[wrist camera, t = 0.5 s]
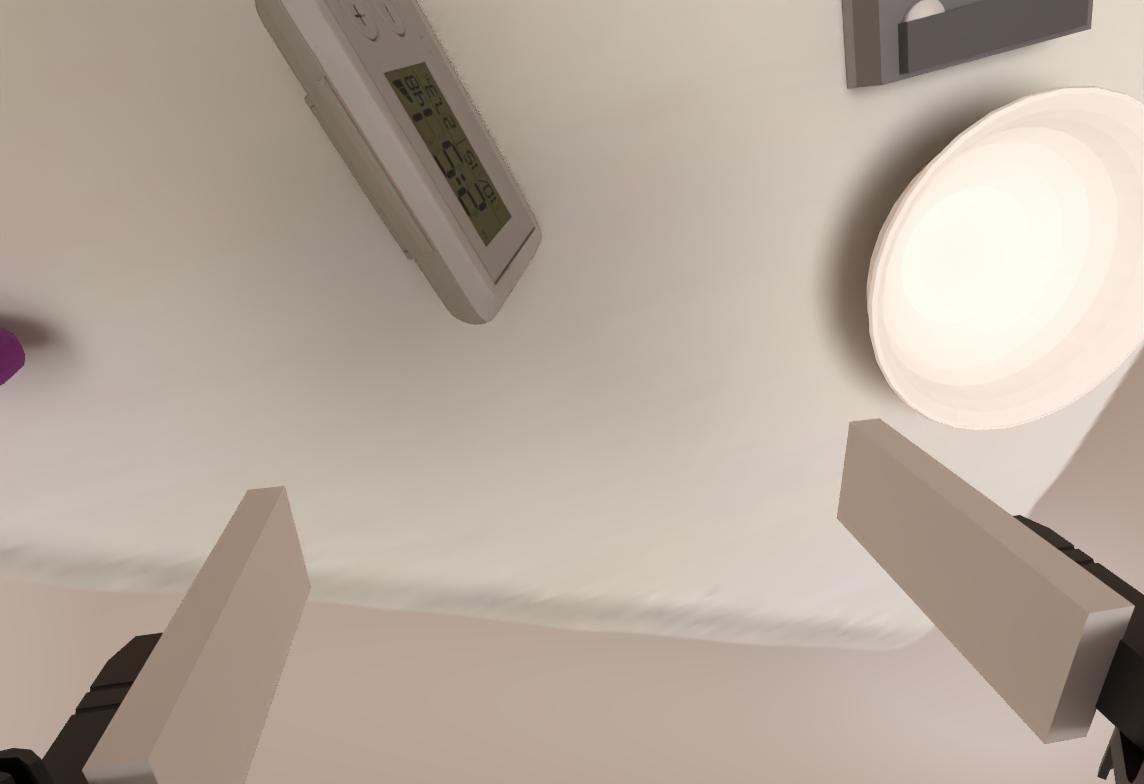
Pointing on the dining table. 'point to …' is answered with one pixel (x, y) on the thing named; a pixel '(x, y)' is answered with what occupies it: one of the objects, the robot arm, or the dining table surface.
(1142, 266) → the bowl
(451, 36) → the dining table surface
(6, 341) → the mug
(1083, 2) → the octagonal hole plate
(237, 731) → the robot arm
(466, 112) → the digital clock
